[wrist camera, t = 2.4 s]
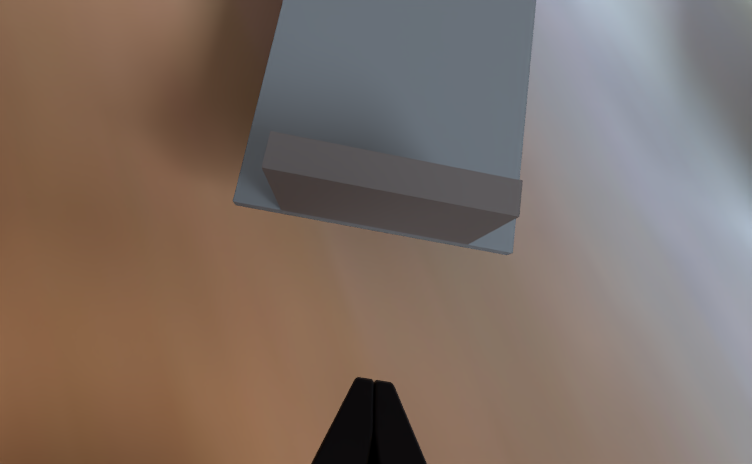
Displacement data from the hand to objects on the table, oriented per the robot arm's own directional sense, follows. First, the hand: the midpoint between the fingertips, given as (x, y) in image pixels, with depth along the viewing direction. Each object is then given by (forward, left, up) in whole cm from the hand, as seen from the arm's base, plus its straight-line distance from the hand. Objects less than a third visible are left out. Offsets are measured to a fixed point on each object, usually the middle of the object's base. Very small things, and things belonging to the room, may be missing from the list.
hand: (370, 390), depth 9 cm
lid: (+7, +10, -8) cm, 15 cm away
